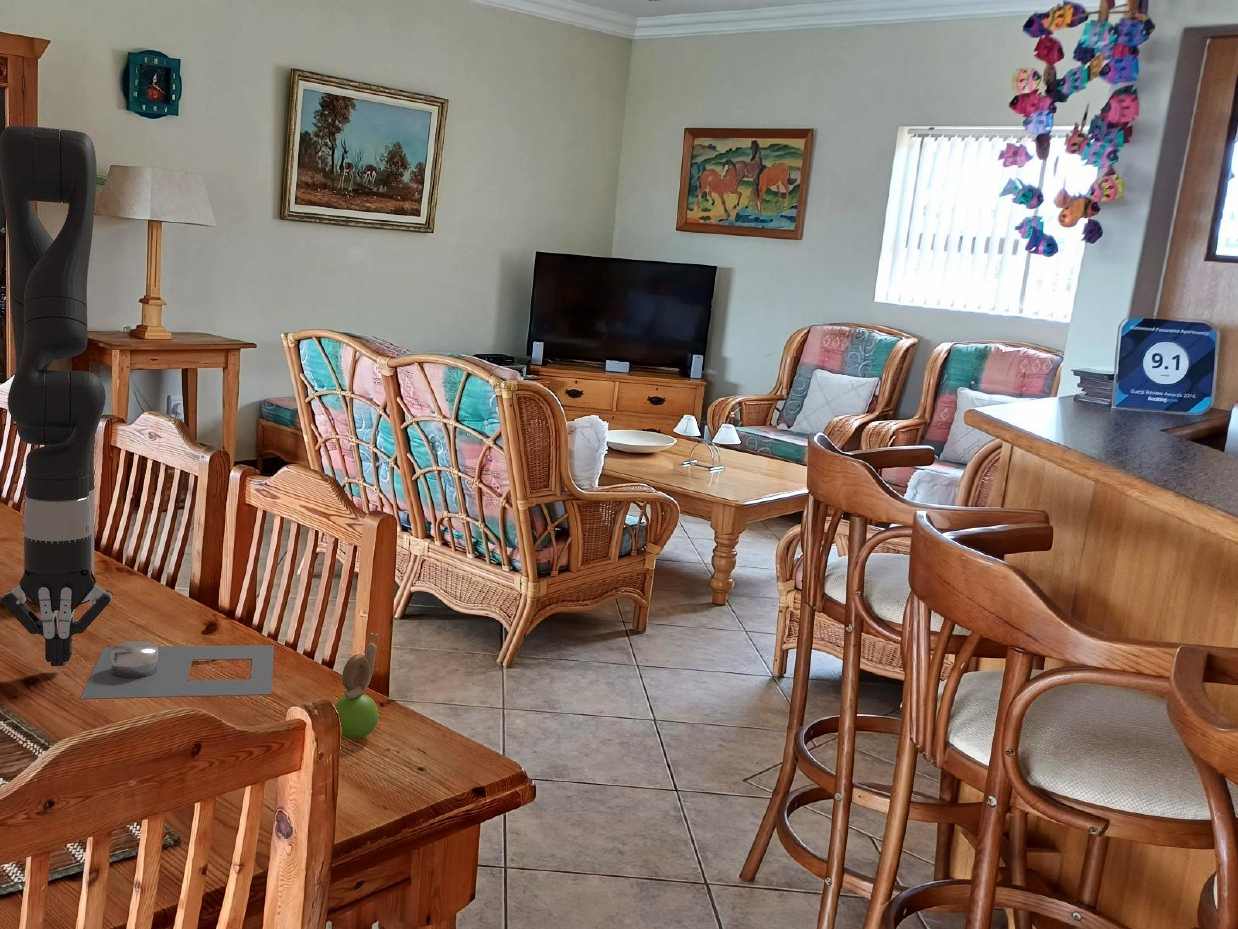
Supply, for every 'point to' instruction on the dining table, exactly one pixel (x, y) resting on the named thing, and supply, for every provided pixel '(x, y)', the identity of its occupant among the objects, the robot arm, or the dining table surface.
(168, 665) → the charcoal board
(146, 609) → the dining table surface
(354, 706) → the green toy figure
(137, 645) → the silver rounded puck
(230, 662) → the dining table surface
